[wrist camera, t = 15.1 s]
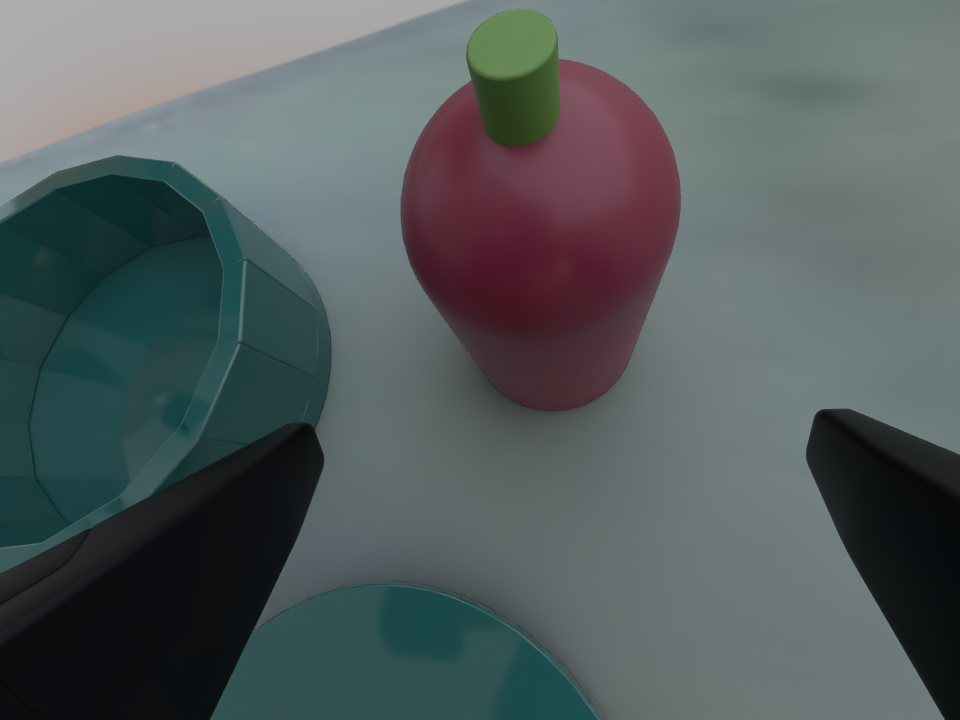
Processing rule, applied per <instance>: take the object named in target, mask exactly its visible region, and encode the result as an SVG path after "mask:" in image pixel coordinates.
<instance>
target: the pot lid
mask: <svg viewBox="0 0 960 720" xmlns="http://www.w3.org/2000/svg"><path fill="white" fill-rule="evenodd" d="M210 720H604V719H603V717H602V715H601V714H600V712H599V711H598V709H597V708H596V707H595V705H594V704H593V703H592V701H591V700H590V699H589V697H588V696H587V695H586V693H585V692H584V691H583V689H582V688H581V687H580V685H579V684H578V683H577V681H576V680H575V679H574V678H573V677H572V676H571V675H570V673H569V672H568V671H567V670H566V669H565V668H564V667H563V666H562V665H561V664H560V663H559V662H558V661H557V660H556V659H555V658H554V656H553V655H552V654H551V653H550V652H549V651H548V650H547V649H546V648H544V647H543V646H542V645H541V644H540V643H538V642H537V641H536V640H535V639H534V638H532V637H531V636H530V635H529V634H528V633H526V632H525V631H524V630H523V629H522V628H520V627H519V626H518V625H516V624H515V623H513V622H511V621H510V620H508V619H507V618H505V617H504V616H502V615H500V614H499V613H497V612H496V611H494V610H492V609H491V608H489V607H487V606H485V605H483V604H481V603H478V602H476V601H474V600H472V599H470V598H467V597H465V596H463V595H461V594H458V593H455V592H451V591H448V590H444V589H441V588H438V587H434V586H431V585H424V584H417V583H410V582H402V581H385V582H367V583H361V584H355V585H349V586H343V587H340V588H337V589H334V590H331V591H328V592H325V593H322V594H319V595H316V596H313V597H311V598H308V599H306V600H304V601H302V602H300V603H298V604H296V605H294V606H292V607H290V608H288V609H286V610H284V611H282V612H281V613H279V614H278V615H277V616H275V617H274V618H272V619H271V620H269V621H268V622H266V623H265V624H263V625H262V626H260V627H259V628H257V629H256V630H255V631H254V632H253V633H252V634H251V636H250V638H249V640H248V642H247V644H246V646H245V648H244V650H243V652H242V654H241V656H240V659H239V661H238V663H237V665H236V667H235V669H234V671H233V673H232V675H231V677H230V679H229V681H228V684H227V686H226V688H225V690H224V692H223V694H222V696H221V698H220V700H219V702H218V704H217V706H216V709H215V711H214V713H213V715H212V717H211V719H210Z"/></svg>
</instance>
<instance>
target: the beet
mask: <svg viewBox="0 0 960 720" xmlns="http://www.w3.org/2000/svg"><path fill="white" fill-rule="evenodd" d="M466 59H467V63H468V67H469V71H470V75H471V80H472V81H470V82H469V83H467V84H466V85H464V86H463V87H461V88H460V89H459V90H458V91H456V92H455V93H454V94H453V95H452V96H450V97H449V98H448V99H447V100H446V101H445V102H444V103H443V104H442V105H441V106H440V108H439V109H438V110H437V111H436V113H435V114H434V115H433V117H432V118H431V119H430V121H429V122H428V123H427V125H426V126H425V128H424V129H423V131H422V133H421V134H420V136H419V138H418V140H417V142H416V144H415V147H414V149H413V151H412V154H411V156H410V159H409V162H408V165H407V168H406V171H405V175H404V182H403V188H402V194H401V213H400V214H401V228H402V235H403V241H404V245H405V248H406V252H407V255H408V258H409V262H410V265H411V267H412V269H413V271H414V274H415V276H416V278H417V280H418V281H419V283H420V285H421V287H422V288H423V290H424V291H425V293H426V294H427V296H428V297H429V299H430V300H431V302H432V303H433V304H434V306H435V307H436V308H437V310H438V311H439V313H440V314H441V315H442V317H443V318H444V319H445V321H446V322H447V324H448V325H449V326H450V328H451V329H452V330H453V332H454V333H455V335H456V336H457V337H458V339H459V340H460V342H461V343H462V344H463V346H464V347H465V348H466V350H467V351H468V353H469V354H470V355H471V357H472V358H473V359H474V361H475V362H476V364H477V365H478V366H479V368H480V369H481V370H482V372H483V373H484V375H485V376H486V377H487V379H488V380H489V381H490V382H491V384H492V385H493V386H494V387H495V388H496V389H497V390H498V391H499V392H501V393H502V394H503V395H504V396H506V397H507V398H509V399H511V400H512V401H514V402H516V403H518V404H521V405H523V406H526V407H529V408H533V409H539V410H549V411H556V410H566V409H571V408H576V407H578V406H581V405H584V404H587V403H589V402H591V401H593V400H595V399H596V398H598V397H599V396H601V395H602V394H604V393H605V392H606V391H607V390H608V389H610V388H611V387H612V386H613V385H614V384H615V382H616V381H617V380H618V379H619V378H620V376H621V375H622V373H623V372H624V370H625V368H626V366H627V364H628V362H629V360H630V357H631V355H632V352H633V349H634V347H635V344H636V342H637V339H638V337H639V334H640V332H641V329H642V326H643V324H644V321H645V319H646V316H647V314H648V311H649V309H650V306H651V303H652V301H653V298H654V296H655V293H656V291H657V288H658V286H659V283H660V280H661V278H662V275H663V273H664V270H665V268H666V265H667V262H668V260H669V257H670V255H671V252H672V248H673V245H674V241H675V238H676V234H677V230H678V226H679V218H680V208H681V194H680V179H679V174H678V169H677V165H676V160H675V156H674V152H673V150H672V147H671V145H670V142H669V140H668V137H667V135H666V133H665V132H664V130H663V128H662V126H661V124H660V123H659V121H658V119H657V118H656V116H655V114H654V113H653V112H652V111H651V110H650V108H649V107H648V106H647V105H646V104H645V103H644V101H643V100H642V99H641V98H640V97H639V96H638V95H637V94H636V93H635V92H634V91H632V90H631V89H630V88H629V87H628V86H627V85H625V84H624V83H622V82H621V81H619V80H618V79H616V78H614V77H613V76H611V75H609V74H607V73H606V72H603V71H601V70H599V69H597V68H595V67H592V66H589V65H586V64H583V63H579V62H574V61H569V60H561V59H558V38H557V32H556V29H555V27H554V25H553V23H552V22H551V21H550V20H549V19H548V18H547V17H546V16H545V15H543V14H541V13H539V12H536V11H533V10H527V9H516V10H510V11H505V12H502V13H499V14H497V15H495V16H493V17H491V18H489V19H488V20H486V21H485V22H484V23H482V24H481V25H480V26H479V27H478V28H477V29H476V30H475V32H474V33H473V34H472V36H471V38H470V40H469V42H468V46H467V51H466Z"/></svg>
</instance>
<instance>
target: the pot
mask: <svg viewBox="0 0 960 720" xmlns="http://www.w3.org/2000/svg"><path fill="white" fill-rule="evenodd" d="M330 362H331V344H330V331H329V326H328V321H327V316H326V312H325V309H324V306H323V304H322V301H321V298H320V295H319V293H318V292H317V290H316V288H315V286H314V284H313V283H312V281H311V279H310V278H309V276H308V275H307V274H306V273H305V271H304V270H303V269H302V268H301V266H300V265H299V264H298V263H296V262H295V259H294V258H293V257H292V256H291V255H290V254H288V253H287V252H286V251H285V250H284V249H283V248H281V247H280V246H279V245H278V244H277V243H276V242H274V241H273V240H272V239H271V238H270V237H269V236H267V235H266V234H265V233H264V232H263V231H262V230H260V229H259V228H258V227H257V226H256V225H255V224H253V223H252V222H251V221H250V220H249V219H248V218H246V217H245V216H244V215H243V214H242V213H241V212H239V211H238V210H237V209H236V208H235V207H234V206H232V205H231V204H230V203H229V202H228V201H227V200H225V199H224V198H223V197H222V196H221V195H219V194H218V193H217V192H215V191H214V190H213V189H211V188H210V187H209V186H207V185H206V184H205V183H203V182H202V181H201V180H199V179H198V178H197V177H195V176H194V175H193V174H191V173H190V172H189V171H187V170H186V169H185V168H183V167H182V166H181V165H179V164H177V163H176V162H170V161H161V160H153V159H145V158H137V157H129V156H121V155H118V156H117V155H116V156H112V157H109V158H105V159H101V160H98V161H94V162H91V163H87V164H83V165H80V166H76V167H73V168H69V169H65V170H62V171H58V172H55V174H52V175H50V176H49V177H47V178H46V179H44V180H42V181H41V182H39V183H38V184H36V185H34V186H33V187H31V188H30V189H28V190H26V191H25V192H23V193H22V194H20V195H18V196H17V197H15V198H14V199H12V200H10V201H9V202H7V203H5V204H4V205H2V206H1V207H0V573H2V572H5V571H7V570H9V569H11V568H13V567H15V566H17V565H19V564H21V563H23V562H25V561H27V560H29V559H31V558H33V557H34V556H36V555H38V554H40V553H42V552H44V551H46V550H48V549H50V548H52V547H54V546H56V545H58V544H60V543H62V542H64V541H66V540H68V539H69V538H71V537H73V536H75V535H77V534H79V533H81V532H83V531H85V530H87V529H89V528H91V529H92V528H93V527H94V526H95V525H96V524H98V523H100V522H102V521H104V520H106V519H108V518H110V517H111V516H113V515H115V514H117V513H119V512H121V511H123V510H125V509H127V508H129V507H131V506H132V505H134V504H136V503H138V502H140V501H142V500H144V499H146V498H148V497H150V496H151V495H153V494H155V493H157V492H159V491H161V490H163V489H165V488H167V487H169V486H170V485H172V484H174V483H176V482H178V481H180V480H182V479H184V478H186V477H188V476H190V475H191V474H193V473H195V472H197V471H199V470H201V469H203V468H205V467H207V466H209V465H210V464H212V463H214V462H216V461H218V460H220V459H222V458H224V457H226V456H228V455H229V454H231V453H233V452H235V451H237V450H239V449H241V448H243V447H245V446H247V445H248V444H250V443H252V442H254V441H256V440H258V439H260V438H262V437H264V436H266V435H268V434H269V433H271V432H273V431H275V430H277V429H279V428H281V427H283V426H285V425H287V424H289V423H304V422H307V423H310V424H311V425H312V426H313V427H314V429H315V427H316V424H317V422H318V420H319V417H320V413H321V410H322V407H323V403H324V400H325V397H326V392H327V386H328V381H329V376H330Z"/></svg>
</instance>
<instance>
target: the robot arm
mask: <svg viewBox="0 0 960 720" xmlns="http://www.w3.org/2000/svg"><path fill="white" fill-rule="evenodd" d="M806 458H807V463H808V466H809V468H810V470H811V472H812V475H813V477H814V479H815V482H816V484H817V486H818V488H819V491H820V493H821V495H822V497H823V500H824V502H825V504H826V506H827V509H828V511H829V513H830V515H831V518H832V520H833V522H834V524H835V527H836V529H837V531H838V533H839V536H840V538H841V540H842V542H843V544H844V546H845V548H846V550H847V552H848V554H849V556H850V557H851V559H852V561H853V563H854V565H855V566H856V568H857V570H858V572H859V573H860V575H861V577H862V578H863V580H864V582H865V584H866V585H867V587H868V589H869V590H870V592H871V594H872V596H873V597H874V599H875V601H876V602H877V604H878V606H879V608H880V609H881V611H882V613H883V614H884V616H885V618H886V620H887V621H888V623H889V625H890V626H891V628H892V630H893V632H894V633H895V635H896V637H897V638H898V640H899V642H900V644H901V645H902V647H903V649H904V650H905V652H906V654H907V656H908V657H909V659H910V661H911V662H912V664H913V666H914V668H915V669H916V671H917V673H918V674H919V676H920V678H921V680H922V681H923V683H924V685H925V686H926V688H927V690H928V692H929V693H930V695H931V697H932V698H933V700H934V702H935V704H936V705H937V707H938V709H939V710H940V712H941V714H942V716H943V717H944V719H945V720H960V455H959V454H957V453H954V452H952V451H949V450H947V449H945V448H942V447H940V446H937V445H935V444H933V443H930V442H928V441H925V440H923V439H921V438H918V437H916V436H913V435H911V434H909V433H906V432H904V431H901V430H899V429H897V428H894V427H892V426H889V425H887V424H885V423H882V422H880V421H877V420H875V419H873V418H870V417H868V416H865V415H863V414H861V413H858V412H856V411H853V410H851V409H823V410H820V411H818V412H817V413H816V415H815V417H814V420H813V424H812V428H811V432H810V436H809V441H808V445H807V449H806ZM323 466H324V455H323V451H322V449H321V446H320V443H319V441H318V438H317V435H316V432H315V430H314V427H313V426H312V425H311V424H310V423H307V422H304V423H289V424H287V425H285V426H283V427H281V428H279V429H277V430H275V431H273V432H271V433H269V434H268V435H266V436H264V437H262V438H260V439H258V440H256V441H254V442H252V443H250V444H248V445H247V446H245V447H243V448H241V449H239V450H237V451H235V452H233V453H231V454H229V455H228V456H226V457H224V458H222V459H220V460H218V461H216V462H214V463H212V464H210V465H209V466H207V467H205V468H203V469H201V470H199V471H197V472H195V473H193V474H191V475H190V476H188V477H186V478H184V479H182V480H180V481H178V482H176V483H174V484H172V485H170V486H169V487H167V488H165V489H163V490H161V491H159V492H157V493H155V494H153V495H151V496H150V497H148V498H146V499H144V500H142V501H140V502H138V503H136V504H134V505H132V506H131V507H129V508H127V509H125V510H123V511H121V512H119V513H117V514H115V515H113V516H111V517H110V518H108V519H106V520H104V521H102V522H100V523H98V524H96V525H95V526H94V527H93V528H92V529H91V528H89V529H87V530H85V531H83V532H81V533H79V534H77V535H75V536H73V537H71V538H69V539H68V540H66V541H64V542H62V543H60V544H58V545H56V546H54V547H52V548H50V549H48V550H46V551H44V552H42V553H40V554H38V555H36V556H34V557H33V558H31V559H29V560H27V561H25V562H23V563H21V564H19V565H17V566H15V567H13V568H11V569H9V570H7V571H5V572H2V573H0V720H210V719H211V717H212V715H213V713H214V711H215V709H216V706H217V704H218V702H219V700H220V698H221V696H222V694H223V692H224V690H225V688H226V686H227V684H228V681H229V679H230V677H231V675H232V673H233V671H234V669H235V667H236V665H237V663H238V661H239V659H240V656H241V654H242V652H243V650H244V648H245V646H246V644H247V642H248V640H249V638H250V636H251V634H252V631H253V629H254V627H255V625H256V623H257V621H258V619H259V617H260V615H261V613H262V611H263V608H264V606H265V604H266V602H267V600H268V598H269V596H270V594H271V592H272V590H273V588H274V586H275V583H276V581H277V579H278V577H279V575H280V573H281V571H282V569H283V567H284V565H285V563H286V561H287V558H288V556H289V554H290V552H291V550H292V548H293V546H294V544H295V541H296V539H297V537H298V535H299V532H300V530H301V527H302V525H303V522H304V519H305V516H306V514H307V511H308V508H309V505H310V503H311V500H312V497H313V494H314V491H315V489H316V486H317V483H318V480H319V478H320V475H321V472H322V469H323Z"/></svg>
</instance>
